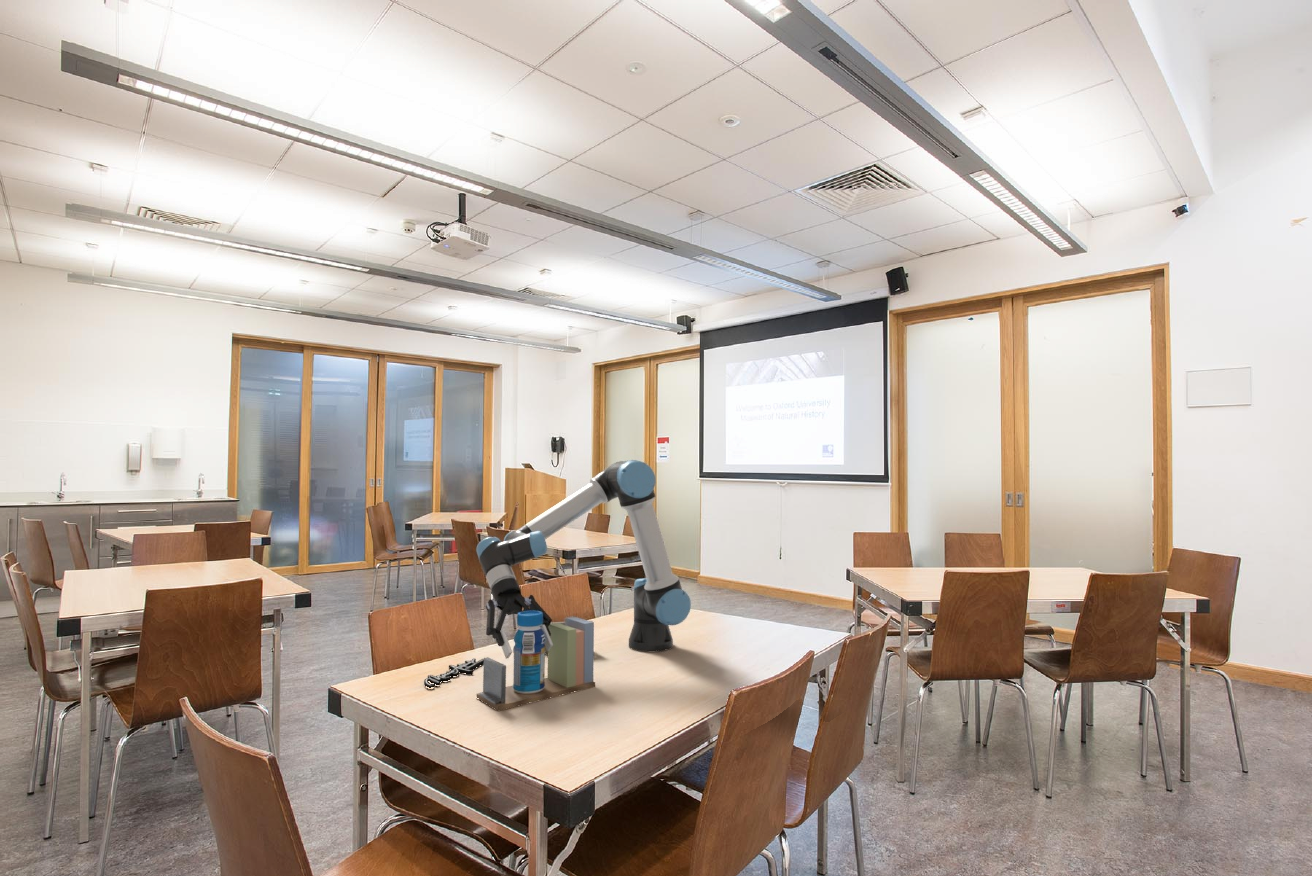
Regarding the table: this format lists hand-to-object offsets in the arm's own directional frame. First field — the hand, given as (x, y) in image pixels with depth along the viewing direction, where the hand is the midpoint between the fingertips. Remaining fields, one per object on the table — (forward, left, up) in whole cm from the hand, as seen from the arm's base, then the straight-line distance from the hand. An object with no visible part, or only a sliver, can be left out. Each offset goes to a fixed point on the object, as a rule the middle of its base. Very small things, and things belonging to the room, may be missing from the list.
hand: (530, 651), depth 168 cm
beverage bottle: (-2, 0, -11) cm, 11 cm away
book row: (-8, +11, -10) cm, 17 cm away
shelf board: (-3, +2, -12) cm, 12 cm away
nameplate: (-23, -21, -12) cm, 34 cm away
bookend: (+3, -9, -10) cm, 14 cm away
